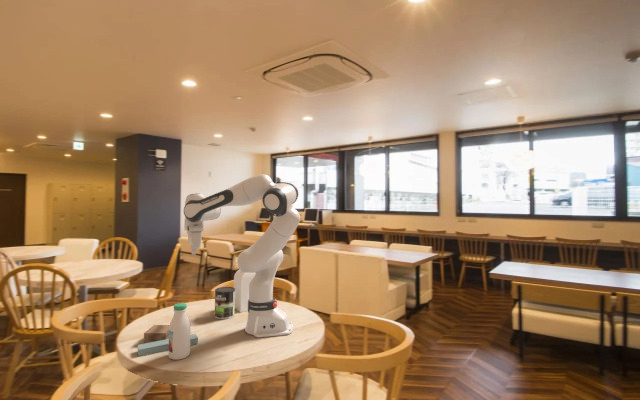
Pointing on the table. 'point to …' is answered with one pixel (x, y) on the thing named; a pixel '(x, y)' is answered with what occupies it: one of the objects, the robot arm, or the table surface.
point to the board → (160, 346)
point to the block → (156, 333)
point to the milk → (242, 289)
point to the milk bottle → (179, 333)
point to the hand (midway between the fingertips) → (193, 254)
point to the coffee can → (224, 302)
